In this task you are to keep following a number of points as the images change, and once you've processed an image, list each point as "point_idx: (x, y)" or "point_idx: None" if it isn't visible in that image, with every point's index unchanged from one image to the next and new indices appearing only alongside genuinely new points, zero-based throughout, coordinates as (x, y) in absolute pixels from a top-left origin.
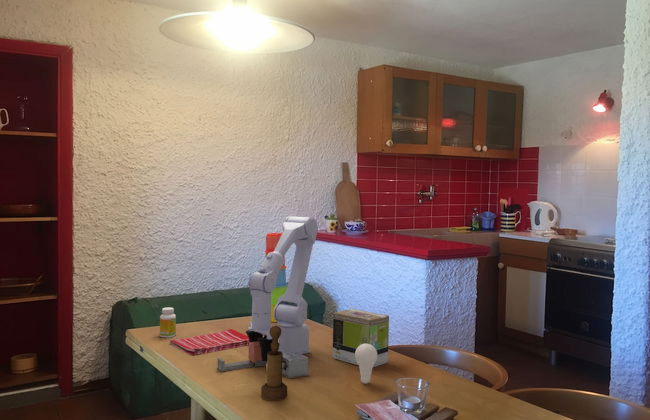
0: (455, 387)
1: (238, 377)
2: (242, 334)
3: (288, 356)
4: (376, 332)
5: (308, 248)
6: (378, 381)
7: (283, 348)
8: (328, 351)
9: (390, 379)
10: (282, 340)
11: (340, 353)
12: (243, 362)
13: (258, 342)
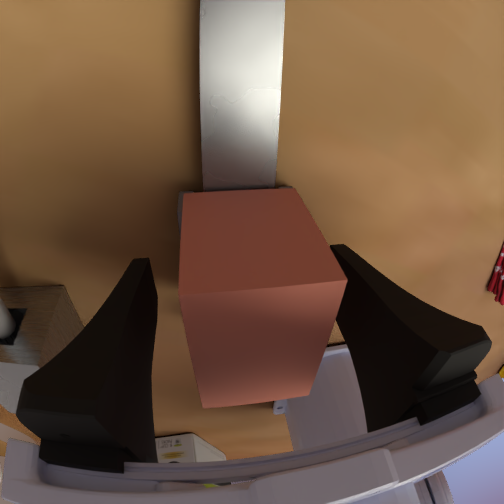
0: (4, 448)
1: (24, 32)
2: None
3: (13, 380)
4: None
5: None
6: (7, 419)
7: (319, 379)
8: (260, 432)
9: (22, 432)
10: (336, 409)
11: (161, 455)
12: (243, 124)
13: (287, 350)
